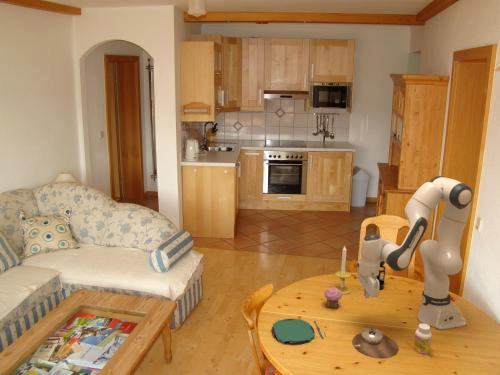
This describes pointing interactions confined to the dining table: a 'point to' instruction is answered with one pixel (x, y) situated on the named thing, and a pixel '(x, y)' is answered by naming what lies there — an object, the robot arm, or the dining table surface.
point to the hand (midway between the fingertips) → (366, 296)
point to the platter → (376, 347)
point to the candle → (343, 275)
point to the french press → (381, 276)
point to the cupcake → (333, 297)
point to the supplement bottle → (422, 339)
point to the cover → (372, 336)
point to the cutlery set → (294, 331)
